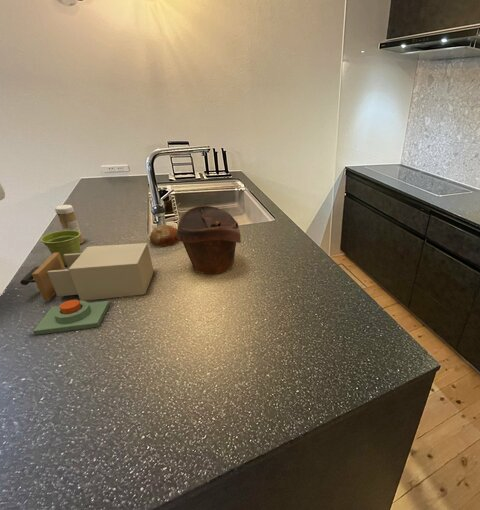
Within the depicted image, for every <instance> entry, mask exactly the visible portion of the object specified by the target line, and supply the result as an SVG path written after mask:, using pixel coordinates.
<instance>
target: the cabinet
mask: <svg viewBox="0 0 480 510" xmlns="http://www.w3.org/2000/svg"><path fill="white" fill-rule="evenodd" d="M81 253H82V254H81V255H80V256H79V257H78V258H77V260H76V261H75V262H74V263H73V264H72V265H71V267H70V268H69V272H70V274H71V277H72V280H73V282H74V285H75V287H76V290H77V293H78V294H77V295H78V298H79V301H80V300H81V301H86V302H87V301H93V300H104V299H112V298H123V297H134V296H142V295H146V293H147V290H148V288H149V285H150V283H151V280H152V277H153V275H154V271H155V270H154V266H153V262H152V257H151V253H150V249H149V245H148V243H147V242H141V243H125V244H108V245H107V244H106V245H94V246H93V245H92V246H86V248H85V249H83V251H82V252H81Z"/></svg>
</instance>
